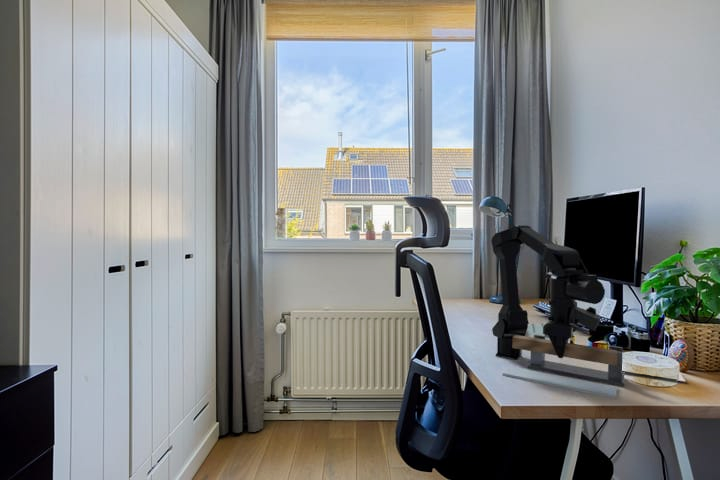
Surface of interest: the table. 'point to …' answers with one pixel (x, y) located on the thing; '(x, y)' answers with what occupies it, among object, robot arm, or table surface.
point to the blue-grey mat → (562, 382)
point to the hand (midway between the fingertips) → (561, 356)
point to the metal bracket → (535, 330)
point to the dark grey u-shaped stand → (580, 368)
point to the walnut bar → (566, 350)
